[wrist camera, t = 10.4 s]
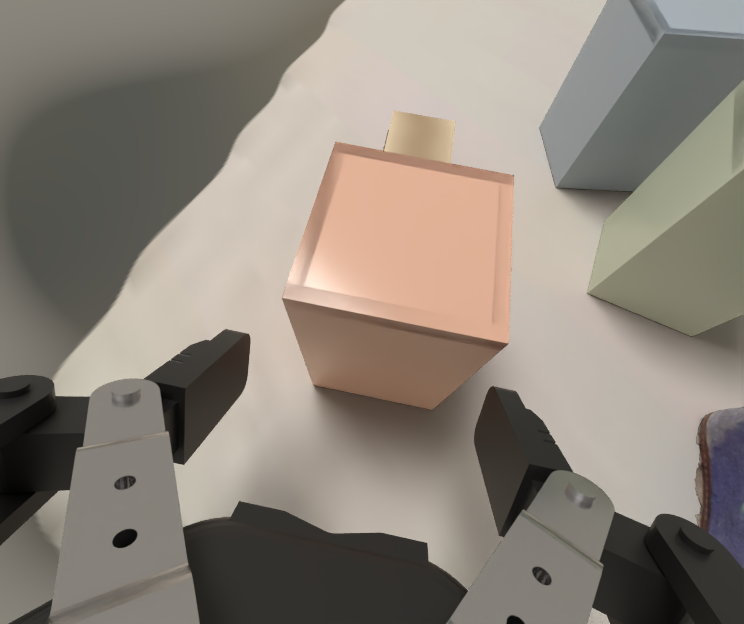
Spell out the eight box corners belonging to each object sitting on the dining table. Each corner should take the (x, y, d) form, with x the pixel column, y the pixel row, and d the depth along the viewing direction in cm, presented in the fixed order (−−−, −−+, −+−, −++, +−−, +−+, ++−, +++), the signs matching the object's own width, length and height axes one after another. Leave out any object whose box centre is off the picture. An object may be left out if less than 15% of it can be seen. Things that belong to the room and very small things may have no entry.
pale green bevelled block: (698, 257, 24) (905, 124, 15) (691, 336, 22) (936, 232, 13) (604, 221, 25) (747, 75, 16) (587, 293, 23) (746, 167, 14)
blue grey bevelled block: (616, 131, 29) (735, -24, 20) (640, 191, 27) (790, 42, 18) (539, 127, 29) (625, -34, 20) (555, 187, 26) (664, 33, 17)
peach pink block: (445, 303, 22) (513, 175, 13) (432, 409, 19) (508, 343, 10) (340, 282, 22) (335, 141, 13) (313, 384, 19) (281, 297, 10)
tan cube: (441, 169, 27) (455, 120, 23) (435, 212, 25) (450, 166, 21) (386, 159, 27) (391, 108, 23) (376, 201, 25) (380, 153, 21)
